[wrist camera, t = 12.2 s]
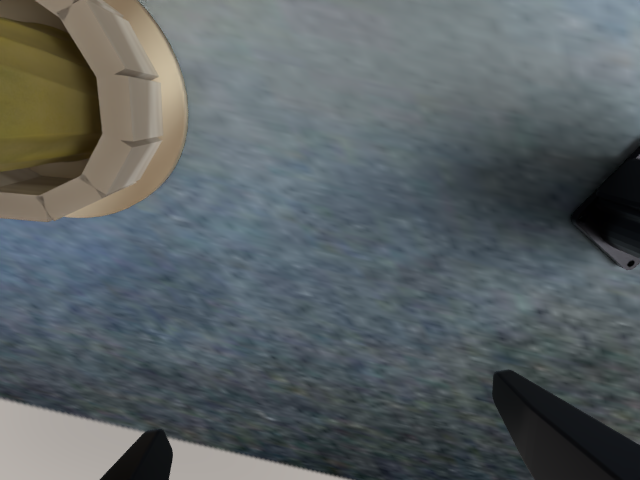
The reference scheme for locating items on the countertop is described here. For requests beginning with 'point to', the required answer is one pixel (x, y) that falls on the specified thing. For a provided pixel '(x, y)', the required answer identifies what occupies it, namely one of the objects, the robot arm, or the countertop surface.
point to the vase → (45, 97)
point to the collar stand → (107, 113)
